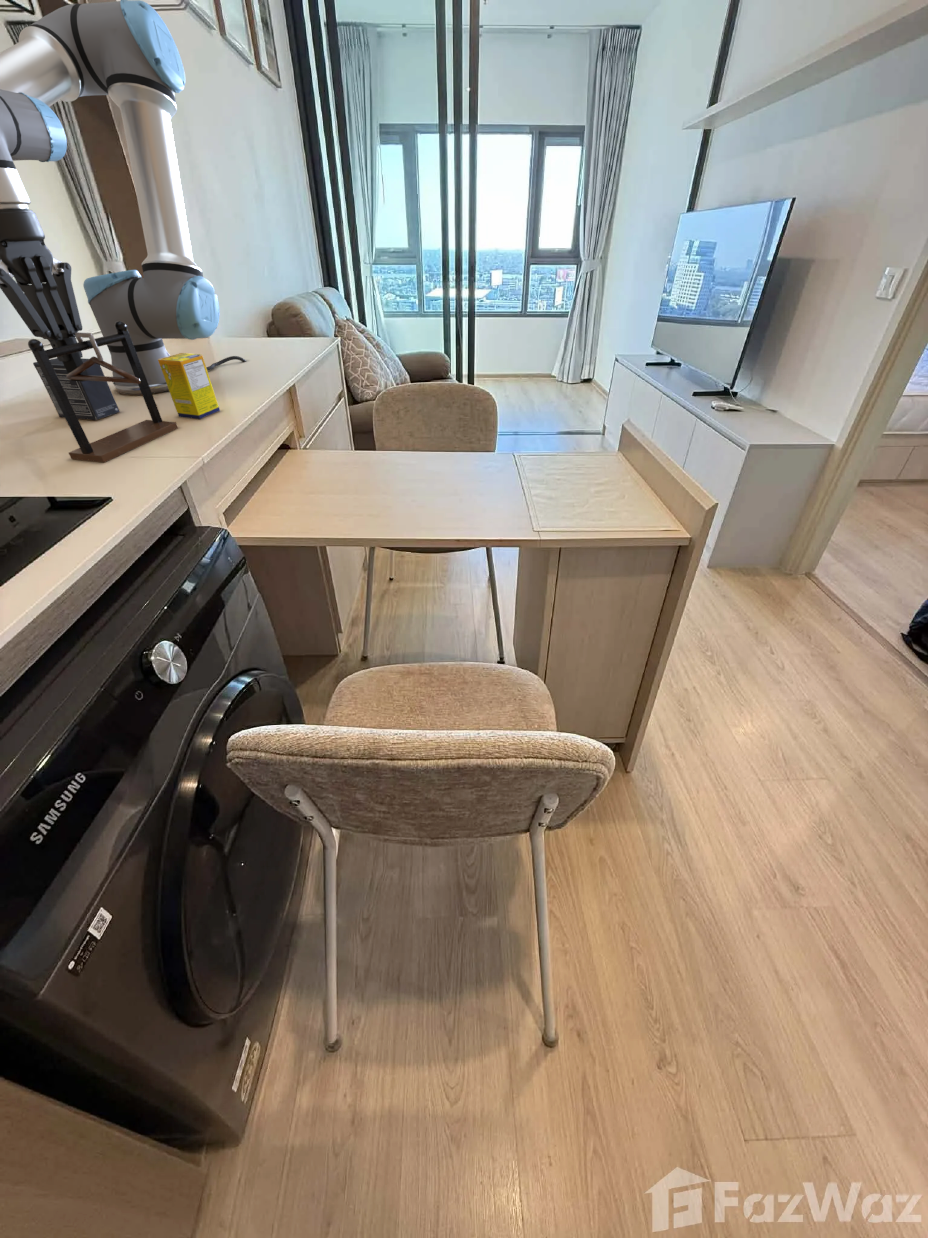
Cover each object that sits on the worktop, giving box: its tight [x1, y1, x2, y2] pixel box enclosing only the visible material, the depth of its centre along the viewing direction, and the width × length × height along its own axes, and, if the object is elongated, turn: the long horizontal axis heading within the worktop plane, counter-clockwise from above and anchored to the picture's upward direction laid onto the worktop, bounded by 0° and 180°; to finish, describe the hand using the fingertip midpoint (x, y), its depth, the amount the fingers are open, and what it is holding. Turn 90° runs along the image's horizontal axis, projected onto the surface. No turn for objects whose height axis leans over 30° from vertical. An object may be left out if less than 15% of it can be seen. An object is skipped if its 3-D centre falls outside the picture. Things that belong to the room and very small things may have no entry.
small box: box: [32, 357, 121, 421], centre depth 104 cm, size 11×6×10 cm, turn 72°
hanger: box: [67, 332, 141, 384], centre depth 85 cm, size 1×15×7 cm, turn 75°
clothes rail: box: [27, 321, 179, 463], centre depth 87 cm, size 18×7×18 cm, turn 164°
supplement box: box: [158, 352, 221, 420], centre depth 102 cm, size 6×6×11 cm
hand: (80, 379), depth 89 cm, fingers closed
